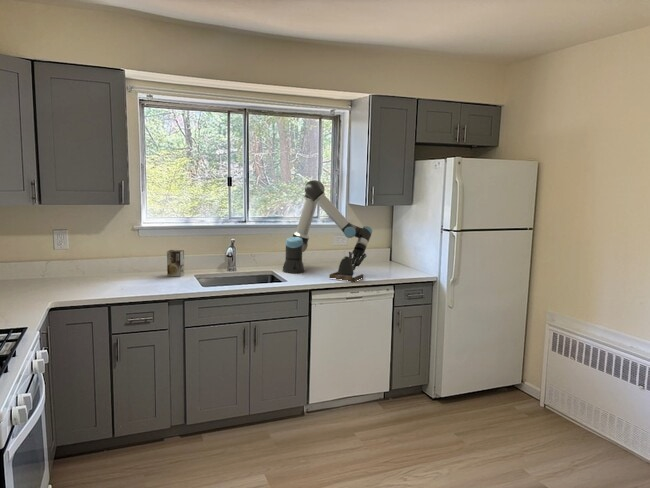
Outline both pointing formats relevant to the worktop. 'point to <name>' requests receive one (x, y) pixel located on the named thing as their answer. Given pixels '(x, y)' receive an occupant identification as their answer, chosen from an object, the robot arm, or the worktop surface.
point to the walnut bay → (345, 277)
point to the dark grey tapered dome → (346, 267)
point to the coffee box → (175, 263)
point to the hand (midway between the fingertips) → (349, 273)
